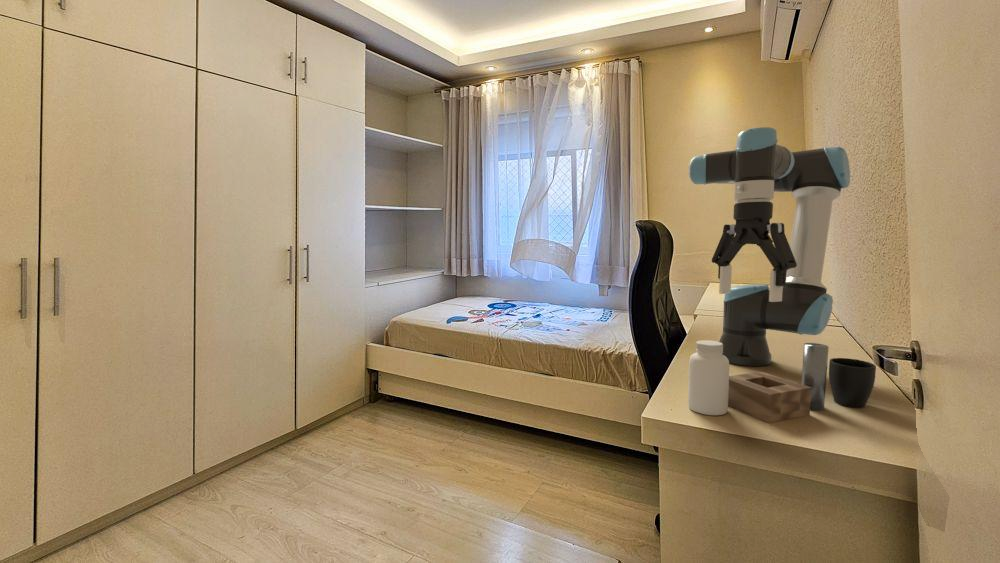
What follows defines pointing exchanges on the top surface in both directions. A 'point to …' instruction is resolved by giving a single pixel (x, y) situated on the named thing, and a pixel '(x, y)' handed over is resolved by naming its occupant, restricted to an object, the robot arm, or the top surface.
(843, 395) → the mug
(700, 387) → the pill bottle
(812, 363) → the peg
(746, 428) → the top surface
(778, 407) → the socket block
